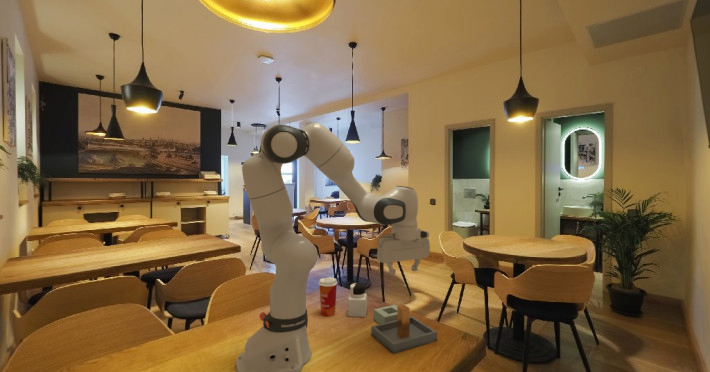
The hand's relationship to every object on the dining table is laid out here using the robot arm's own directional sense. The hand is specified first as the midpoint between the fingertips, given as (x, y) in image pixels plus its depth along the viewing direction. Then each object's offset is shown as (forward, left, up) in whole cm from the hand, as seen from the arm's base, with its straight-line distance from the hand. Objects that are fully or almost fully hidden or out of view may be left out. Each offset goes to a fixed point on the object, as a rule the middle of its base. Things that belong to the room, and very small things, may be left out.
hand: (403, 272), depth 112 cm
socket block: (+3, +13, -23) cm, 27 cm away
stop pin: (0, 0, -22) cm, 22 cm away
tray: (0, 0, -23) cm, 23 cm away
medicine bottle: (-5, +25, -23) cm, 34 cm away
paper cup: (-16, +30, -23) cm, 41 cm away
